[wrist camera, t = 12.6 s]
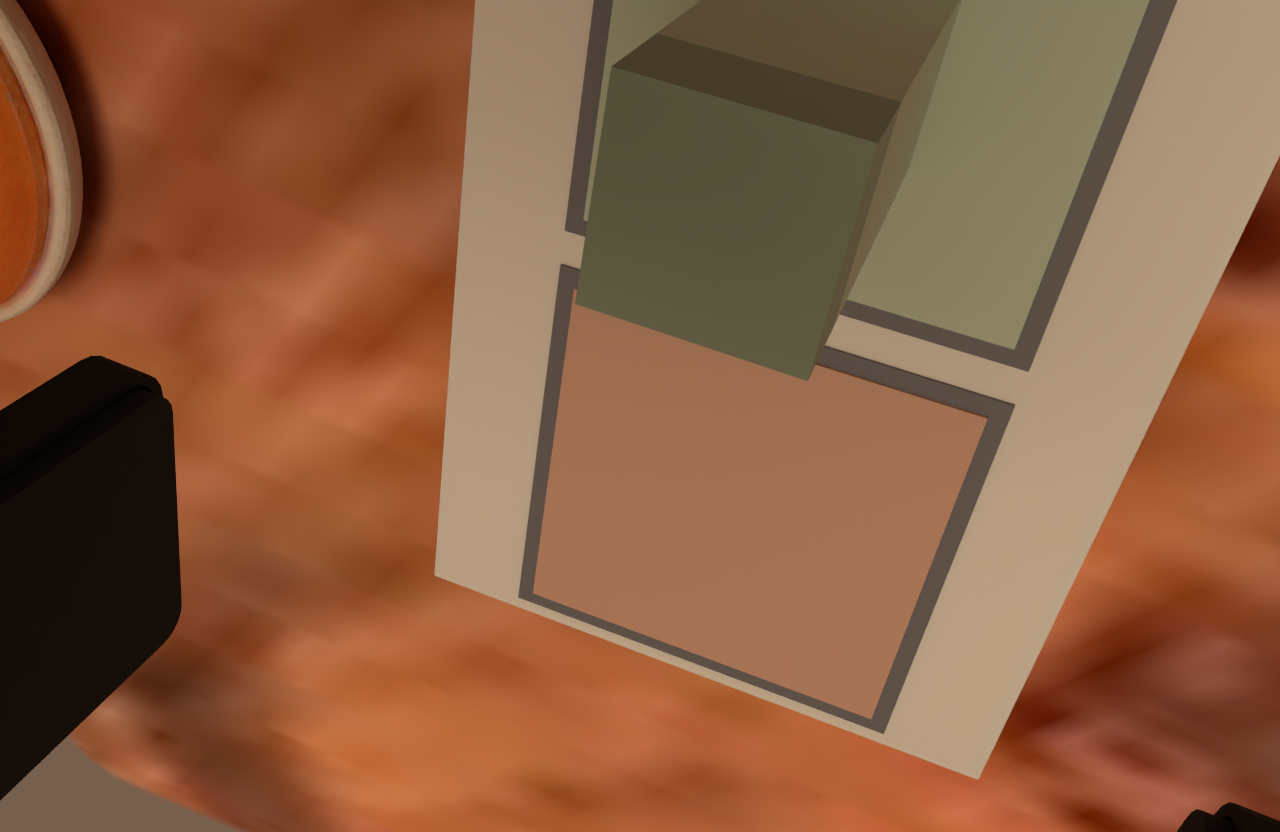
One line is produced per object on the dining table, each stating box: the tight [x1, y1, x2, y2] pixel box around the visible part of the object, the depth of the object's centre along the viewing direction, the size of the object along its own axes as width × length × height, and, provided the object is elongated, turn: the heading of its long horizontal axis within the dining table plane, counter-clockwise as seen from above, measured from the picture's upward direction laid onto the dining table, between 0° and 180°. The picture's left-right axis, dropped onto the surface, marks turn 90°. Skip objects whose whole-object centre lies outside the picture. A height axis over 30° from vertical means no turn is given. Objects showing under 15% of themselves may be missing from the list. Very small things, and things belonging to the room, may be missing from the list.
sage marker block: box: [575, 0, 962, 381], centre depth 22 cm, size 4×4×10 cm
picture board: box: [435, 0, 1280, 780], centre depth 30 cm, size 26×18×1 cm
